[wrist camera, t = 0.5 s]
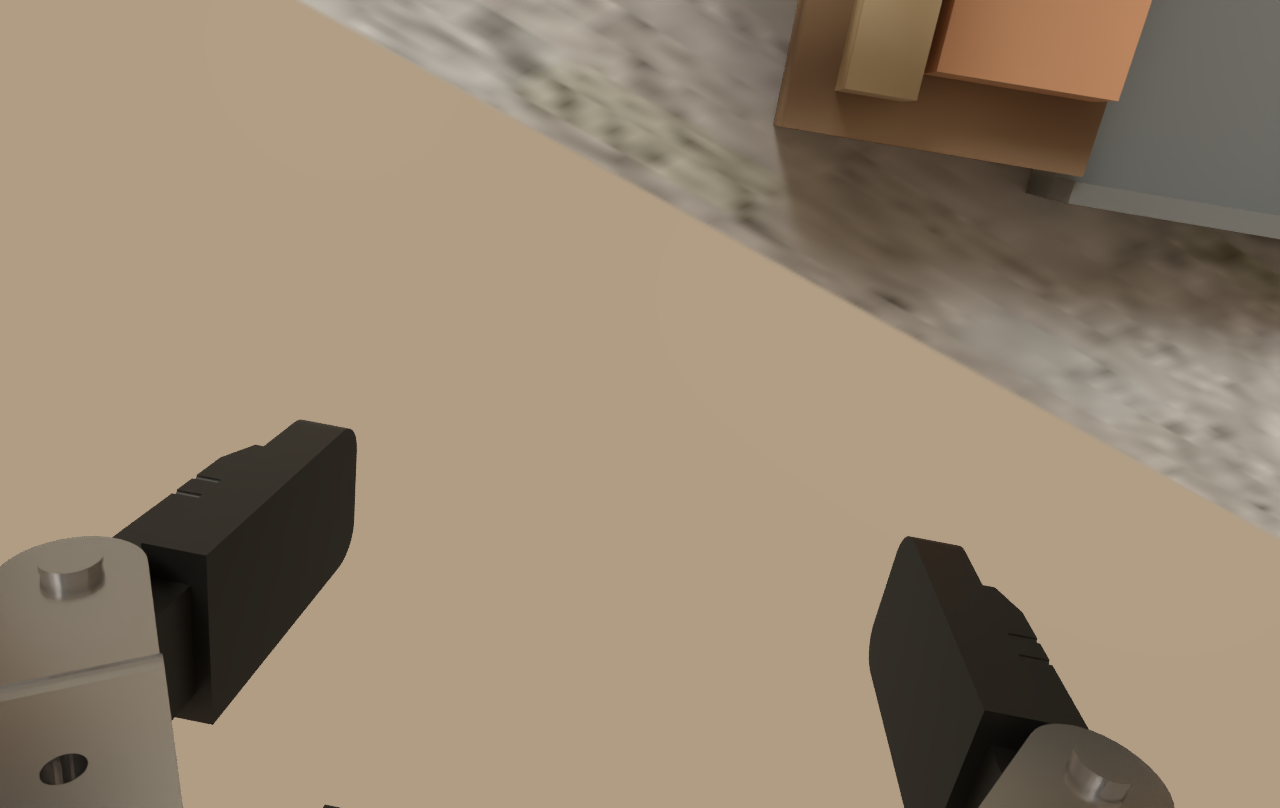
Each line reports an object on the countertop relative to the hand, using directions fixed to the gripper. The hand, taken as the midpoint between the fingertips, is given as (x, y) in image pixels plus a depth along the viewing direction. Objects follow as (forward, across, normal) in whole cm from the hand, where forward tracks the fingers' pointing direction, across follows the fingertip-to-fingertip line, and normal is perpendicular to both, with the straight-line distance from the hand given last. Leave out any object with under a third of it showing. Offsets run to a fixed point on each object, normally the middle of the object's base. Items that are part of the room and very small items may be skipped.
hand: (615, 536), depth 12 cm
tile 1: (+22, -10, -11) cm, 26 cm away
